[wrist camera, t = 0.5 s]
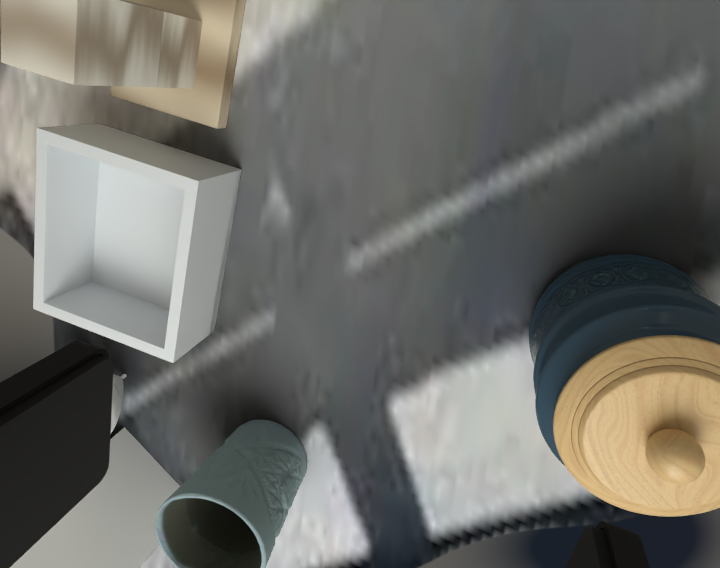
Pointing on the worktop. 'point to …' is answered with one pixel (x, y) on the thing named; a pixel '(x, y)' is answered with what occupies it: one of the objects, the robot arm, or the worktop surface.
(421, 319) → the worktop surface
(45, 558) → the milk
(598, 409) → the canister
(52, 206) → the bin
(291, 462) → the teal cup
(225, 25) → the square lid with knob
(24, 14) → the strut
